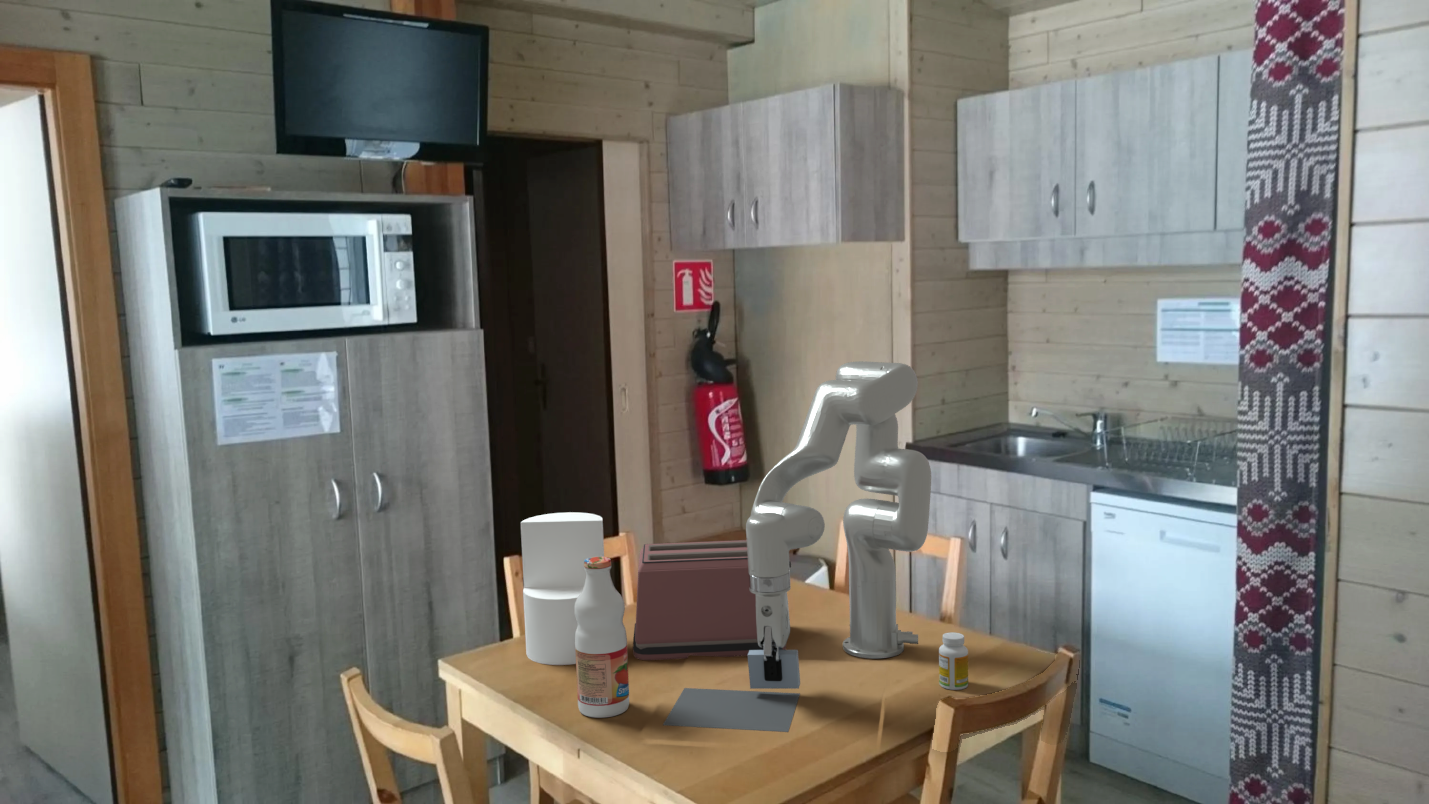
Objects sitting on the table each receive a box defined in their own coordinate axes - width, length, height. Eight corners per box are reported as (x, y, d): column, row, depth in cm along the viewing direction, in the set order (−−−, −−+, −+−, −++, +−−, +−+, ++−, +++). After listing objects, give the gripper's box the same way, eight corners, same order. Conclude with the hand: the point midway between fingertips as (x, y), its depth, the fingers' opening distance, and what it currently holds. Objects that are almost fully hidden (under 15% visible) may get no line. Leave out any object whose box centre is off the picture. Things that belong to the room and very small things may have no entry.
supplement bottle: (969, 681, 205) (969, 632, 204) (966, 691, 200) (966, 641, 199) (941, 678, 207) (940, 629, 206) (937, 689, 202) (937, 639, 201)
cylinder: (535, 637, 238) (528, 513, 235) (613, 635, 238) (607, 511, 234) (518, 665, 221) (511, 532, 218) (602, 664, 221) (596, 530, 217)
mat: (800, 697, 200) (800, 693, 200) (788, 736, 184) (788, 731, 184) (684, 691, 205) (684, 687, 204) (662, 729, 188) (662, 724, 188)
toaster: (797, 654, 223) (795, 558, 221) (632, 661, 222) (629, 565, 219) (787, 624, 242) (785, 535, 240) (635, 631, 241) (632, 542, 238)
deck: (800, 682, 200) (797, 649, 199) (798, 688, 197) (796, 654, 196) (752, 682, 201) (749, 649, 200) (750, 688, 199) (747, 654, 198)
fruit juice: (575, 701, 201) (568, 555, 198) (625, 695, 203) (619, 551, 200) (580, 721, 192) (573, 568, 189) (633, 715, 194) (627, 563, 191)
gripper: (784, 596, 188) (789, 696, 191) (795, 567, 203) (800, 660, 206) (741, 595, 189) (747, 694, 192) (756, 567, 205) (761, 659, 208)
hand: (774, 676), depth 199 cm, fingers closed on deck, 2 cm apart
